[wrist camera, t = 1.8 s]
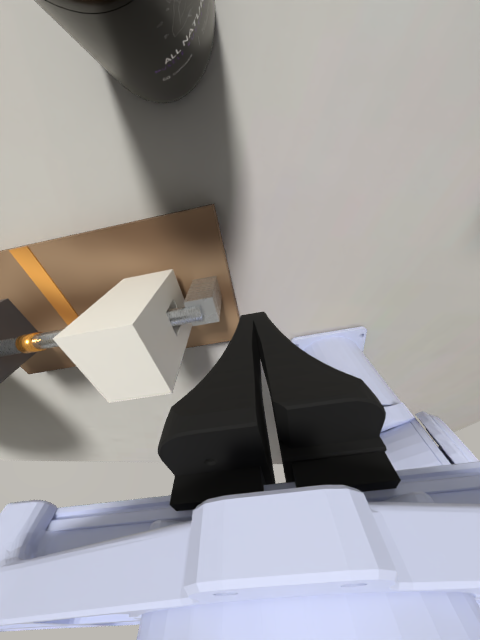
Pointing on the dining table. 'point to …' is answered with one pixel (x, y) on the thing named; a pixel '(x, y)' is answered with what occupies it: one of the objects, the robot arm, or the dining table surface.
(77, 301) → the board
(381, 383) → the robot arm
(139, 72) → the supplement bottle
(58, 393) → the dining table surface
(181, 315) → the rail
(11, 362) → the block
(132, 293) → the sleeve
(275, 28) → the dining table surface
